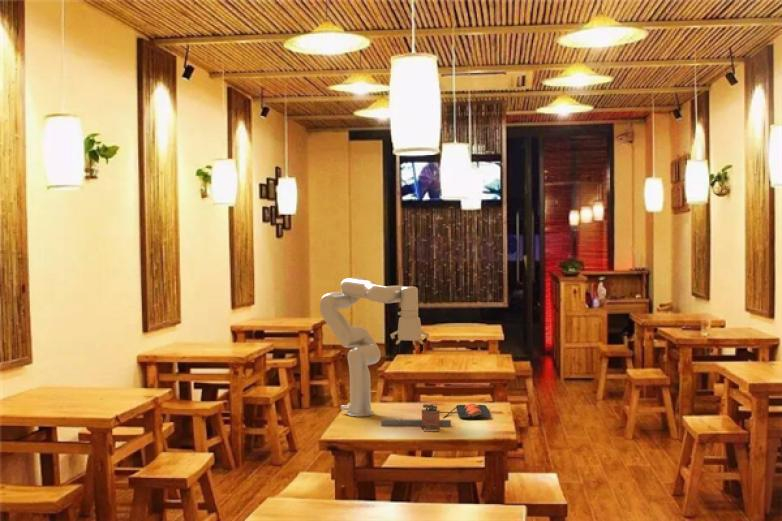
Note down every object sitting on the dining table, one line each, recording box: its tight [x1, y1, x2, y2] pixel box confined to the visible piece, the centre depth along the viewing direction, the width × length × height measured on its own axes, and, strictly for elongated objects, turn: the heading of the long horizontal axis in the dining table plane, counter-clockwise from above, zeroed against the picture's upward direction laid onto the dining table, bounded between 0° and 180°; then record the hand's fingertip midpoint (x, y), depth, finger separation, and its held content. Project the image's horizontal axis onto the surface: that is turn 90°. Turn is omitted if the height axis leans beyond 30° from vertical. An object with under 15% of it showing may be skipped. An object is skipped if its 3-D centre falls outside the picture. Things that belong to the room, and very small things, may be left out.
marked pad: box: [423, 428, 440, 433], centre depth 364 cm, size 6×11×1 cm, turn 175°
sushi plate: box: [439, 402, 492, 420], centre depth 396 cm, size 29×30×4 cm
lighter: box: [421, 403, 441, 430], centre depth 364 cm, size 8×3×10 cm, turn 71°
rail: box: [380, 417, 452, 427], centre depth 371 cm, size 30×2×3 cm, turn 85°
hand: (409, 353), depth 379 cm, fingers open, 9 cm apart
